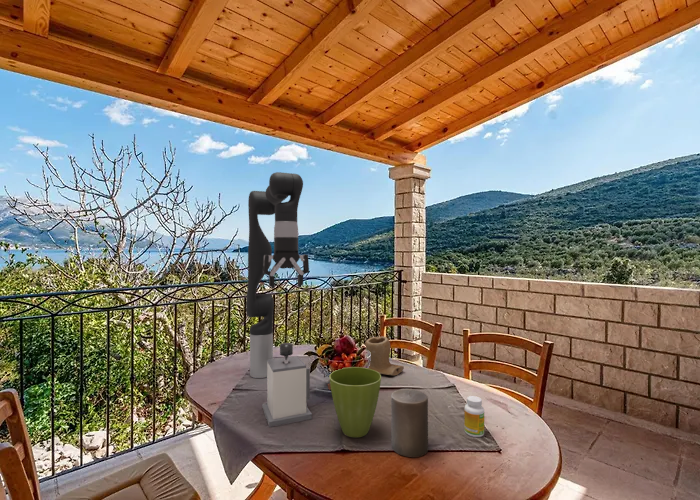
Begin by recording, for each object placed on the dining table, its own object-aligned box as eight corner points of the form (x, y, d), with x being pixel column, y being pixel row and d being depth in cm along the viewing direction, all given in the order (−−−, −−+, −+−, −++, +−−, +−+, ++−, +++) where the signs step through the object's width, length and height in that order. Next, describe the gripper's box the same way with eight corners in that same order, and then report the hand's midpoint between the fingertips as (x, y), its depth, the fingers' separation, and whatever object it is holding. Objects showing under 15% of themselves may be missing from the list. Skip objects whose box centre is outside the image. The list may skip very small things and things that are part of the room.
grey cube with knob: (262, 408, 116) (262, 358, 115) (303, 401, 121) (303, 353, 121) (269, 427, 104) (269, 371, 103) (315, 418, 109) (315, 365, 109)
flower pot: (322, 423, 106) (322, 370, 105) (366, 414, 111) (367, 364, 111) (340, 450, 92) (340, 389, 92) (390, 438, 98) (390, 380, 98)
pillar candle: (435, 454, 90) (435, 395, 90) (400, 460, 87) (400, 400, 87) (417, 435, 99) (417, 382, 100) (385, 440, 97) (385, 385, 97)
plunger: (271, 400, 114) (271, 342, 114) (295, 396, 117) (295, 340, 117) (276, 411, 107) (276, 349, 107) (301, 406, 110) (301, 346, 110)
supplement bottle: (482, 439, 97) (482, 404, 97) (462, 434, 100) (462, 400, 100) (486, 431, 102) (486, 397, 101) (466, 426, 104) (467, 393, 104)
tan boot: (359, 374, 146) (359, 338, 146) (372, 366, 157) (372, 332, 157) (393, 381, 139) (393, 343, 139) (404, 372, 149) (404, 336, 149)
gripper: (304, 236, 118) (304, 285, 118) (261, 236, 112) (261, 287, 112) (311, 236, 111) (311, 287, 111) (265, 235, 105) (265, 289, 105)
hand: (286, 287), depth 112 cm, fingers open, 8 cm apart
